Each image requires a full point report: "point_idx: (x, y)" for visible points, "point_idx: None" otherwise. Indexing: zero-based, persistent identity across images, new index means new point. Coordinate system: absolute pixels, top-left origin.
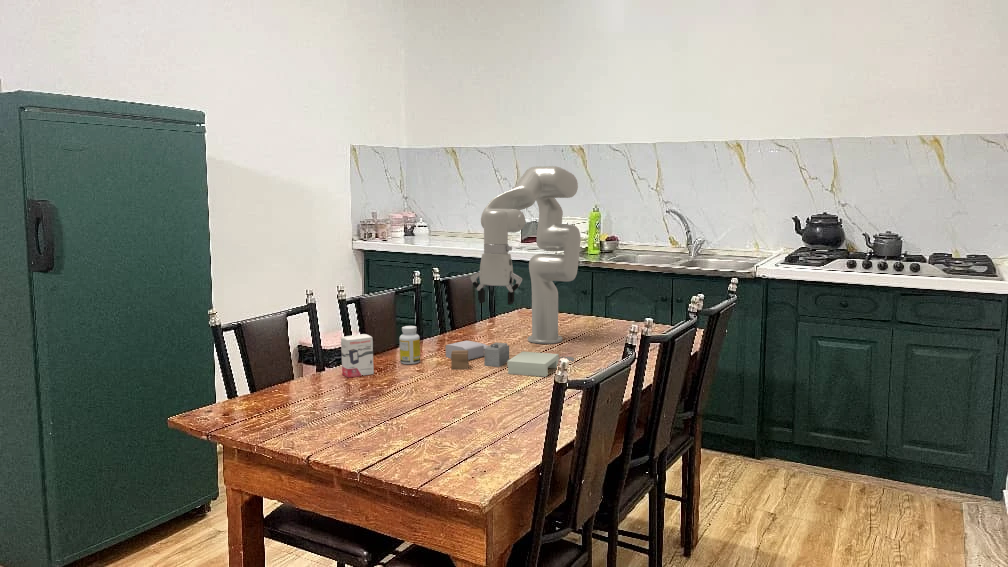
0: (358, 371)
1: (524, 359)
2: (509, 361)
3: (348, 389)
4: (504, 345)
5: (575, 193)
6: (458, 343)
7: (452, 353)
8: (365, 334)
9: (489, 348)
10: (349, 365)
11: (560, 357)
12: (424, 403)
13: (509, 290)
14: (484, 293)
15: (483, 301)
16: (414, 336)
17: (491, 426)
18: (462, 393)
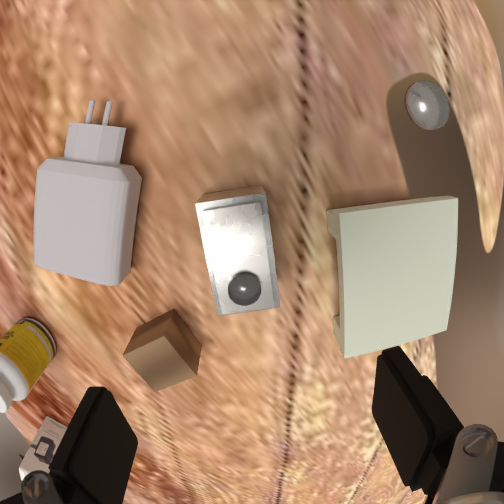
0: None
1: (386, 318)
2: (351, 356)
3: (128, 487)
4: (264, 236)
5: None
6: (52, 235)
7: (152, 385)
8: (24, 473)
9: (236, 311)
10: None
11: (410, 96)
12: (275, 498)
13: (430, 496)
14: (87, 451)
15: (119, 416)
16: (20, 392)
17: (389, 493)
18: (304, 463)
